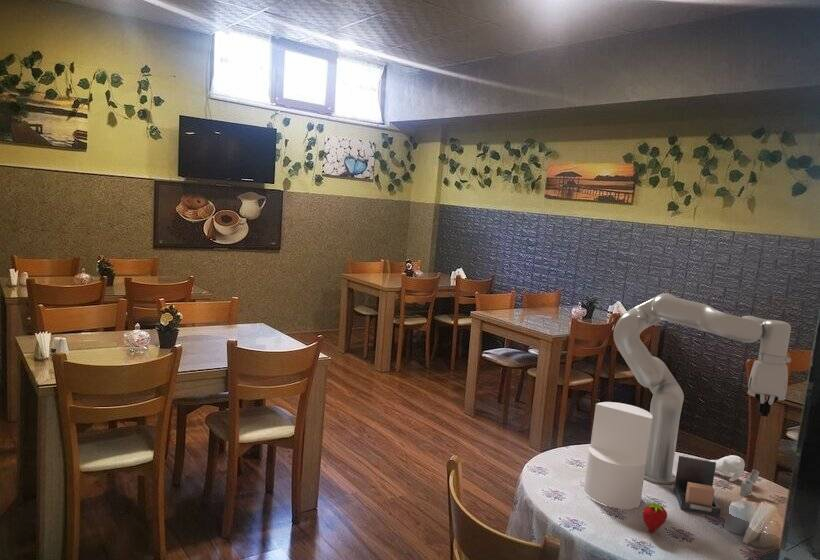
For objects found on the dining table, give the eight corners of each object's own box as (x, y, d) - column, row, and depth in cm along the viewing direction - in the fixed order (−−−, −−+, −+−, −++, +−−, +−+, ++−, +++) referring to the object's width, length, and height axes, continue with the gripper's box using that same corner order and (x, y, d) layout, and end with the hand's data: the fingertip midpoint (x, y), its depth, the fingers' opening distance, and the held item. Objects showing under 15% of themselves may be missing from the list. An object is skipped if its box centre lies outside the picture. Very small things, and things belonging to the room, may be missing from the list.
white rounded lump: (741, 460, 210) (704, 452, 218) (740, 484, 210) (703, 475, 218) (746, 456, 214) (710, 447, 223) (745, 479, 215) (709, 470, 223)
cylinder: (593, 478, 205) (604, 398, 202) (646, 496, 196) (658, 412, 192) (575, 495, 191) (586, 409, 188) (631, 515, 181) (644, 425, 178)
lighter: (744, 496, 201) (748, 473, 201) (739, 494, 203) (743, 471, 202) (756, 493, 205) (760, 470, 204) (751, 490, 207) (754, 468, 206)
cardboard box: (687, 504, 189) (690, 486, 189) (685, 499, 193) (687, 481, 192) (711, 509, 188) (714, 490, 187) (708, 503, 191) (711, 485, 191)
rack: (680, 509, 188) (686, 472, 187) (673, 490, 202) (679, 455, 200) (719, 517, 185) (725, 479, 184) (709, 497, 199) (715, 462, 197)
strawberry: (669, 534, 172) (674, 501, 171) (652, 540, 168) (657, 506, 167) (651, 524, 177) (656, 492, 176) (634, 529, 173) (639, 496, 172)
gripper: (794, 360, 194) (785, 415, 196) (742, 353, 198) (734, 407, 200) (802, 365, 187) (793, 422, 189) (748, 358, 191) (740, 414, 193)
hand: (763, 415), depth 195 cm, fingers closed
